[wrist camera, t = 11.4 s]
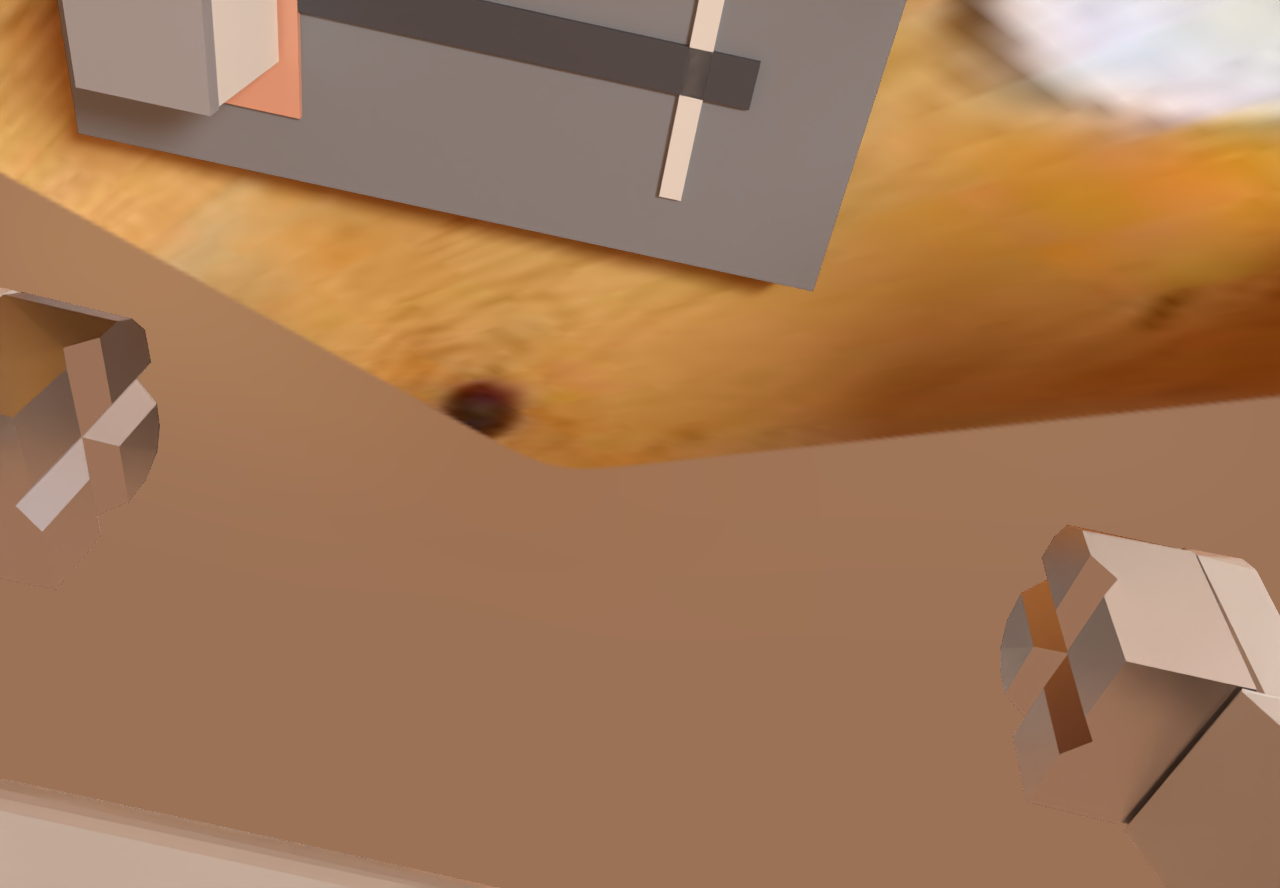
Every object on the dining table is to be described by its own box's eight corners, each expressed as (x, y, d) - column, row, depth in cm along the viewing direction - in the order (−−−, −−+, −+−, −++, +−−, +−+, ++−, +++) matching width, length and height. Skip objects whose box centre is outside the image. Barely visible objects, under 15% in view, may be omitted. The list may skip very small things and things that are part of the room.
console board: (935, -134, 32) (946, -120, 30) (811, 261, 41) (813, 294, 38) (53, -331, 32) (-1, -333, 29) (113, 110, 40) (74, 135, 38)
